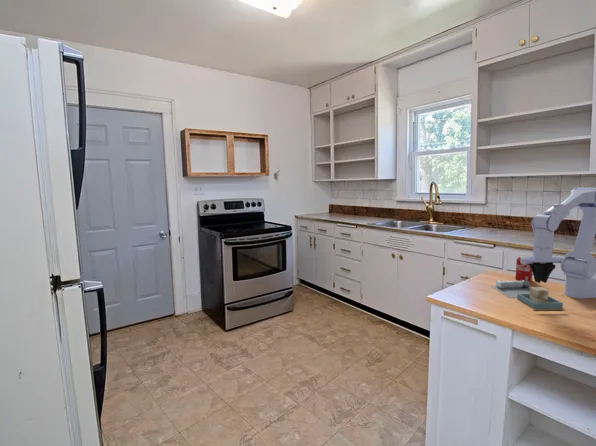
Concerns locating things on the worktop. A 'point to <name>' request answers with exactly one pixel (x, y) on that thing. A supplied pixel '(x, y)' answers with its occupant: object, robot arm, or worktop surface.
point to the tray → (551, 305)
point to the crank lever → (512, 284)
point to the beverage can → (523, 270)
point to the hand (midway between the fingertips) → (540, 282)
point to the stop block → (538, 295)
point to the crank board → (512, 291)
